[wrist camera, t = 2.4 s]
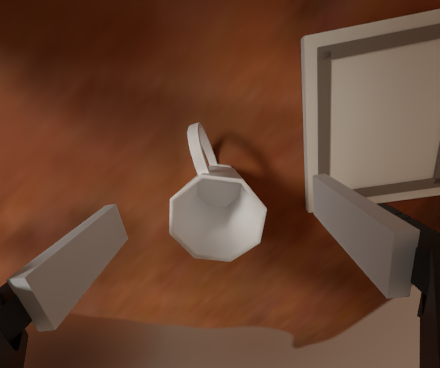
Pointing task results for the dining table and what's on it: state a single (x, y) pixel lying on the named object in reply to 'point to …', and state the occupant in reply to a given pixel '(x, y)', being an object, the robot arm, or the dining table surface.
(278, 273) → the dining table surface
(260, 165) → the dining table surface
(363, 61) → the board
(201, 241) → the cup
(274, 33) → the dining table surface
